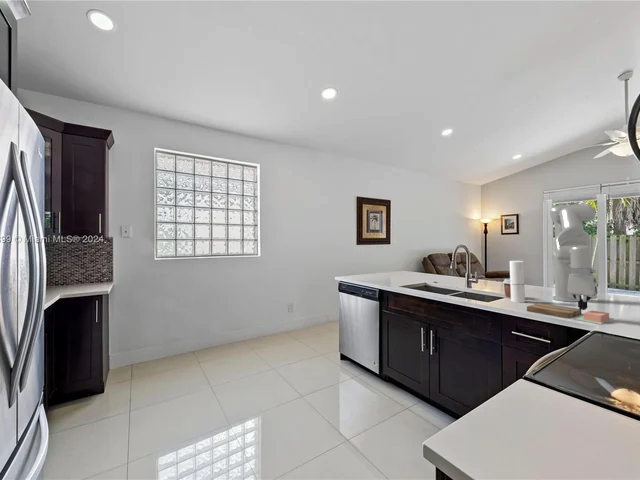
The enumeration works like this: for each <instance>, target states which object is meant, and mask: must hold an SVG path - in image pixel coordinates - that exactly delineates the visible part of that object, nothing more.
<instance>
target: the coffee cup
mask: <svg viewBox="0 0 640 480" xmlns="http://www.w3.org/2000/svg"><path fill="white" fill-rule="evenodd" d="M502 284H503V289H504V295H505V296H504V297H505V298H506V299H510V300H511V286H510V278H504V281H502Z"/></svg>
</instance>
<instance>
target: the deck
mask: <svg viewBox="0 0 640 480" xmlns="http://www.w3.org/2000/svg"><path fill="white" fill-rule="evenodd" d="M526 311H527V312H529V313H530V312H531V313H536V314H542V315H545V316H547V315H548V316H553V317H556V318H557V317H558V318H563V319H567V320H568V319H570V318H572V317H575V316H578V315H581V314H583V313H582V309H581V310H580V309H579V308H575V307H568V306H560V305H555V304H548V303H542V302H538V303H535V304H531V305H527V306H526Z"/></svg>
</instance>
